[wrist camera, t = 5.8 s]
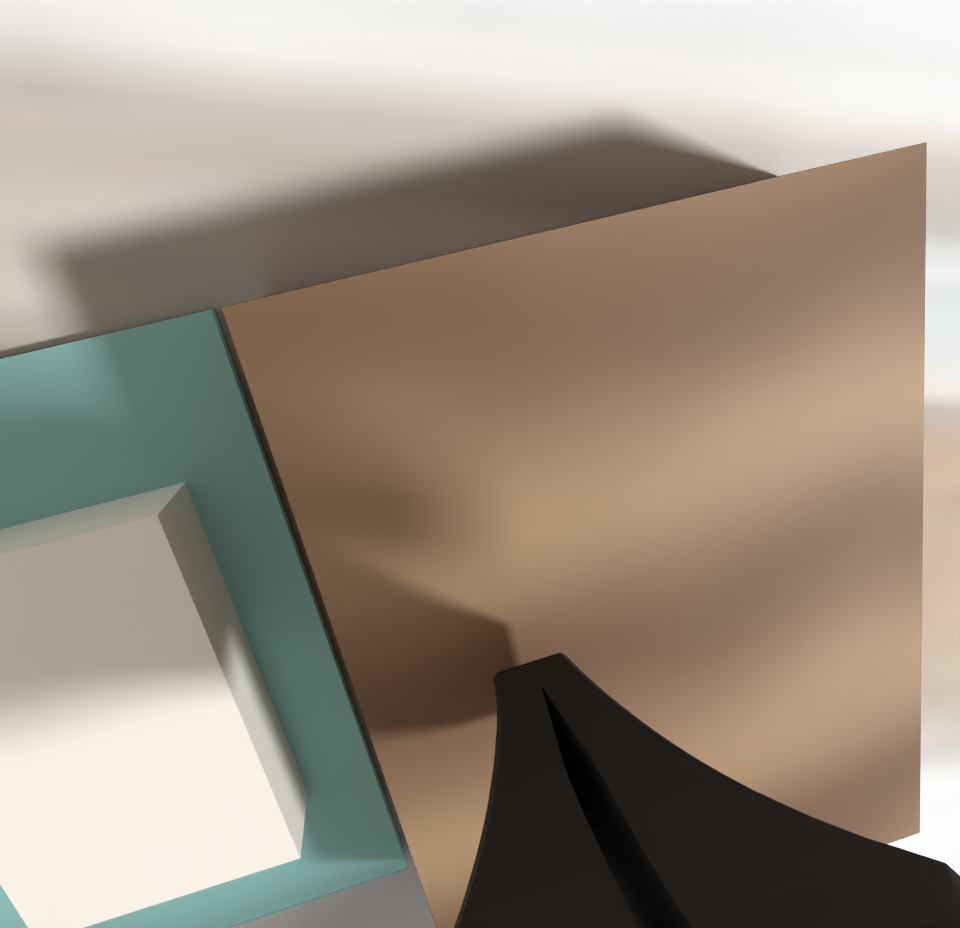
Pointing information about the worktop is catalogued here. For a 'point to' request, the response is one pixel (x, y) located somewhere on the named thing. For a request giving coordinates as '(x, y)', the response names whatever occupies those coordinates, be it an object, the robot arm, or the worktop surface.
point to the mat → (240, 557)
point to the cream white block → (131, 718)
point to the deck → (626, 489)
